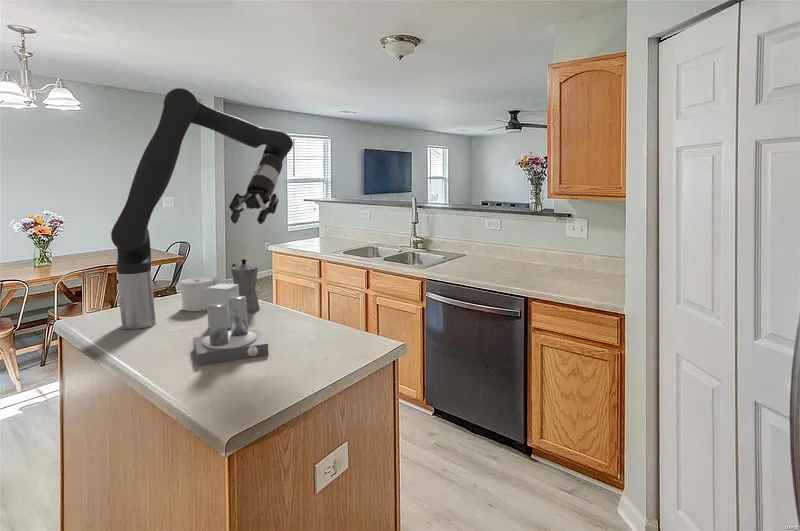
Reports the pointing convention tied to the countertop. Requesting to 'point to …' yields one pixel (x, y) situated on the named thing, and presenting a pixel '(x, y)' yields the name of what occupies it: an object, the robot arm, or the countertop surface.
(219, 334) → the cylinder
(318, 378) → the countertop surface
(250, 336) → the scale
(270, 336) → the countertop surface
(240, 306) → the spacer
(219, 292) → the supplement box
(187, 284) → the toilet tissue
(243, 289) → the coffeepot
